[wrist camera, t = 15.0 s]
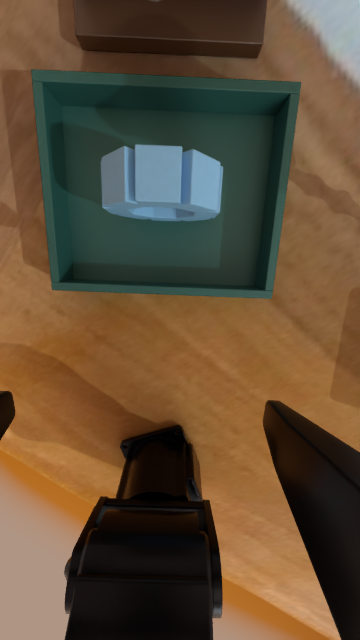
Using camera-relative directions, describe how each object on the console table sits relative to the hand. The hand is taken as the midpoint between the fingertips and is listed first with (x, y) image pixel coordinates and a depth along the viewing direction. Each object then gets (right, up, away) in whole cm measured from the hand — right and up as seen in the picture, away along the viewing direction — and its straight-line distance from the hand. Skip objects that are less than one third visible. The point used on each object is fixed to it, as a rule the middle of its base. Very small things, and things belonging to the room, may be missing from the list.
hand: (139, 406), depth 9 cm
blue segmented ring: (0, +11, +7) cm, 13 cm away
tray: (0, +12, +10) cm, 16 cm away
